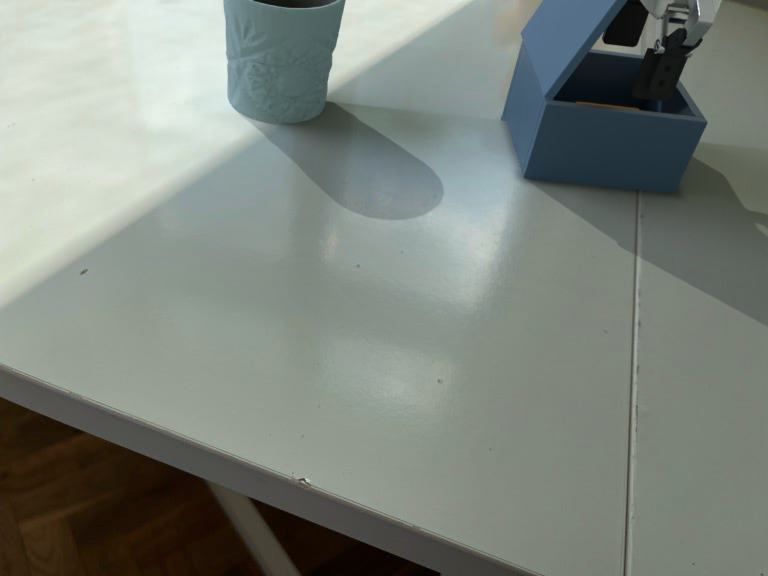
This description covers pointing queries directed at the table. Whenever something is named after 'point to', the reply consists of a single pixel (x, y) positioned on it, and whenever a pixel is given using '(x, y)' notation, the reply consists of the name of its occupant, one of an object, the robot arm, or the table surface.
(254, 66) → the embossed flower pot
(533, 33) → the lid
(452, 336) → the table surface
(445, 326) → the table surface
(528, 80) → the cool box
